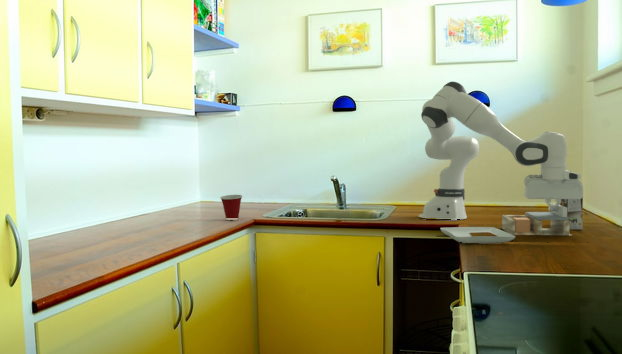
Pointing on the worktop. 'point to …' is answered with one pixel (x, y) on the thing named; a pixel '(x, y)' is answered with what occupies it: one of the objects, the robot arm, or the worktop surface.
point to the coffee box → (574, 212)
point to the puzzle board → (536, 226)
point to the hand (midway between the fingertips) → (553, 210)
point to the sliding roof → (550, 214)
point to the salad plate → (465, 237)
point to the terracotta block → (522, 225)
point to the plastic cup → (231, 205)
